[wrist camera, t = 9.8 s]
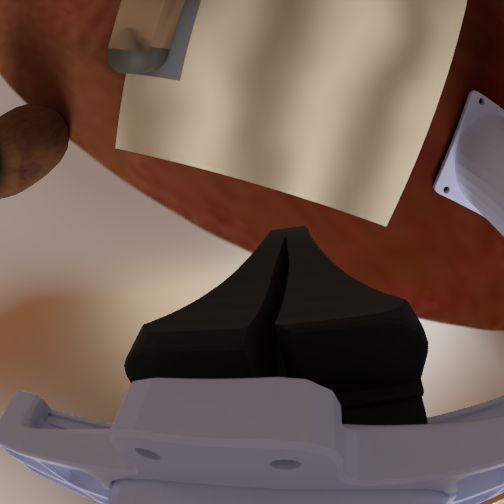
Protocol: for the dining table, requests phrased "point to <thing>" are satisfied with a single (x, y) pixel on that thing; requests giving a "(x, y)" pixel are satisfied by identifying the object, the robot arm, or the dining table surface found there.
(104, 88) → the dining table surface
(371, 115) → the maple seat
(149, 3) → the walnut leg
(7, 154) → the wooden figurine
